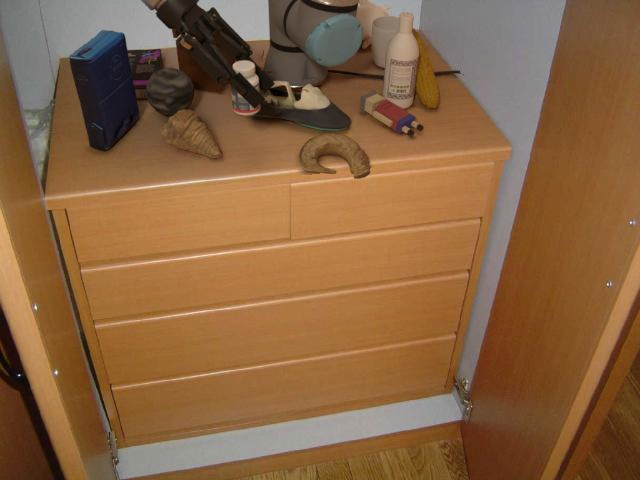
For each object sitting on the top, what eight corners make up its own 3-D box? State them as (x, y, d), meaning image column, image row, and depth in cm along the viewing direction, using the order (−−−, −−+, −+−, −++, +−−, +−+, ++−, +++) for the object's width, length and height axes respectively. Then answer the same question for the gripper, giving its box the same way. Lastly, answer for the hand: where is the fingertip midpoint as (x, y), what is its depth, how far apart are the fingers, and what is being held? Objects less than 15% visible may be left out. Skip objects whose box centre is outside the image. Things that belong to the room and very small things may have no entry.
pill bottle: (232, 102, 126) (229, 58, 120) (260, 101, 126) (258, 58, 120) (232, 116, 122) (228, 72, 116) (260, 115, 122) (258, 71, 116)
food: (396, 44, 155) (389, 30, 150) (418, 32, 154) (412, 18, 149) (427, 117, 148) (420, 105, 142) (450, 106, 146) (445, 94, 141)
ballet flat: (343, 139, 136) (345, 104, 130) (234, 119, 141) (231, 84, 136) (354, 119, 142) (356, 85, 136) (249, 100, 147) (247, 66, 142)
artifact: (313, 124, 133) (384, 141, 129) (314, 136, 136) (383, 153, 132) (289, 161, 127) (363, 180, 122) (291, 173, 129) (363, 193, 125)
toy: (424, 135, 140) (373, 103, 147) (428, 118, 137) (376, 86, 144) (405, 145, 137) (354, 112, 144) (409, 128, 134) (356, 96, 141)
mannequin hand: (386, 46, 177) (400, 43, 166) (320, 54, 174) (331, 52, 163) (381, -3, 174) (395, -9, 163) (315, 5, 171) (324, -1, 160)
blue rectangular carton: (109, 155, 130) (88, 59, 117) (85, 150, 131) (61, 55, 118) (143, 119, 141) (127, 28, 128) (120, 115, 142) (102, 24, 129)
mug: (367, 54, 166) (370, 15, 159) (403, 54, 166) (407, 15, 160) (372, 78, 156) (376, 38, 150) (410, 78, 157) (415, 38, 150)
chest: (236, 74, 157) (233, 29, 149) (221, 93, 150) (217, 46, 142) (197, 68, 158) (192, 23, 151) (181, 86, 152) (175, 40, 144)
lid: (185, -27, 144) (181, -27, 144) (166, -11, 137) (162, -12, 137) (194, 21, 151) (191, 21, 151) (176, 38, 144) (173, 38, 144)
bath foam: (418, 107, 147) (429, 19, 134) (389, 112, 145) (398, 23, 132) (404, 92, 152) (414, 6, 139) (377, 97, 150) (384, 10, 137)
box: (159, 101, 147) (163, 60, 162) (157, 86, 145) (161, 46, 159) (95, 103, 146) (104, 61, 160) (92, 88, 143) (101, 47, 158)
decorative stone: (196, 123, 140) (191, 80, 133) (148, 126, 138) (141, 82, 132) (196, 100, 147) (192, 58, 141) (150, 102, 146) (144, 60, 139)
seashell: (216, 174, 133) (236, 142, 135) (213, 160, 125) (234, 126, 127) (157, 142, 134) (178, 110, 136) (150, 126, 126) (172, 92, 128)
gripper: (176, -9, 122) (266, 84, 130) (133, 32, 108) (235, 132, 117) (201, -36, 118) (291, 62, 126) (158, 3, 104) (263, 109, 112)
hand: (264, 95), depth 121 cm, fingers closed on pill bottle, 5 cm apart
